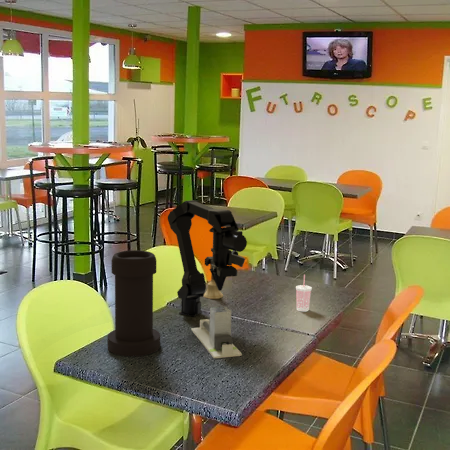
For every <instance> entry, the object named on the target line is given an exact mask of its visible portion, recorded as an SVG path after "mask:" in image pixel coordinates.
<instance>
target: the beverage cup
mask: <svg viewBox="0 0 450 450" xmlns="http://www.w3.org/2000/svg"><path fill="white" fill-rule="evenodd" d="M305 280H306V274H303V284H302V285H301V284H300V285H296V286H295V290H296V294H295V295H296V311H298V312H308V311H309V309H310V304H311V303H310V302H311V294H312V289H313V287H312V286H309V285H307V284H306V285H305Z"/></svg>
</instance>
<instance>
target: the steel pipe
mask: <svg viewBox="0 0 450 450" xmlns="http://www.w3.org/2000/svg"><path fill="white" fill-rule="evenodd" d="M203 326H204V327H205V328H206V330H207V331H208V332H209V333H210V323H209V324H208V323H207V322H204V323H203ZM222 345H227V343H226V342H221V347H222Z"/></svg>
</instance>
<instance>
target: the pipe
mask: <svg viewBox="0 0 450 450" xmlns="http://www.w3.org/2000/svg"><path fill="white" fill-rule="evenodd" d="M156 273H157V257H156V255H155V254H154V253H153V252H151V251H147V250H138V249H137V250H136V249H135V250H133V249H132V250H122V251H118V252H115V253H114V254H112V258H111V274H112V275H114V305H115V306H114V317H115V318H114V325H115V327H114V328H115V329H113V330H112V331H110V332H109V333H108V334H107V350H108V351H109V352H110V353H112V354H114V355H117V356H122V357H142V356H147V355H150V354H154V353H156V352H157V351H159V349H160V347H161V333H160V331H158V330H156V329H154V327H153V326H154V319H153V318H154V297H153V296H154V275H155V274H156Z"/></svg>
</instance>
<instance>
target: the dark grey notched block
mask: <svg viewBox="0 0 450 450" xmlns="http://www.w3.org/2000/svg"><path fill="white" fill-rule="evenodd" d="M221 342H226V343H227V345H229V344H233V337H232V335H224V336H215V349H216V350H217V351H219V350H221Z"/></svg>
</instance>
